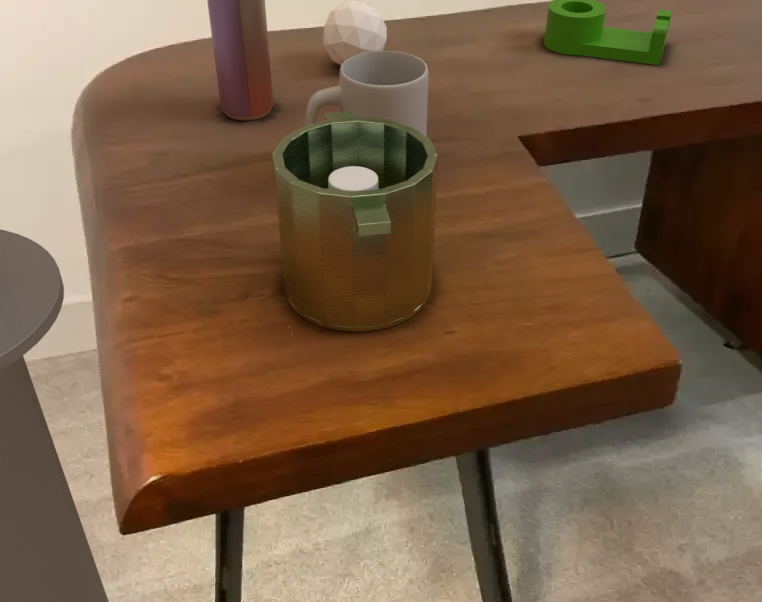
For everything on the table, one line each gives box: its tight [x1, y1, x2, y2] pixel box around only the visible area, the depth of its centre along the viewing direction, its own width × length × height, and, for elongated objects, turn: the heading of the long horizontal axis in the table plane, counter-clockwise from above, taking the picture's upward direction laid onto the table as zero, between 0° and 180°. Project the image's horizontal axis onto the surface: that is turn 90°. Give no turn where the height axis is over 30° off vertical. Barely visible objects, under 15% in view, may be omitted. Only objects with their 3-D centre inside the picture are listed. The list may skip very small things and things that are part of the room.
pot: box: [271, 111, 439, 333], centre depth 75 cm, size 13×18×12 cm
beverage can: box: [206, 0, 274, 121], centre depth 99 cm, size 6×6×15 cm
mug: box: [305, 50, 429, 137], centre depth 90 cm, size 12×8×11 cm
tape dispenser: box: [543, 0, 673, 66], centre depth 116 cm, size 15×7×5 cm, turn 72°
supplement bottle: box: [328, 166, 379, 192], centre depth 76 cm, size 5×5×10 cm
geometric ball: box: [322, 0, 388, 66], centre depth 111 cm, size 8×8×8 cm
